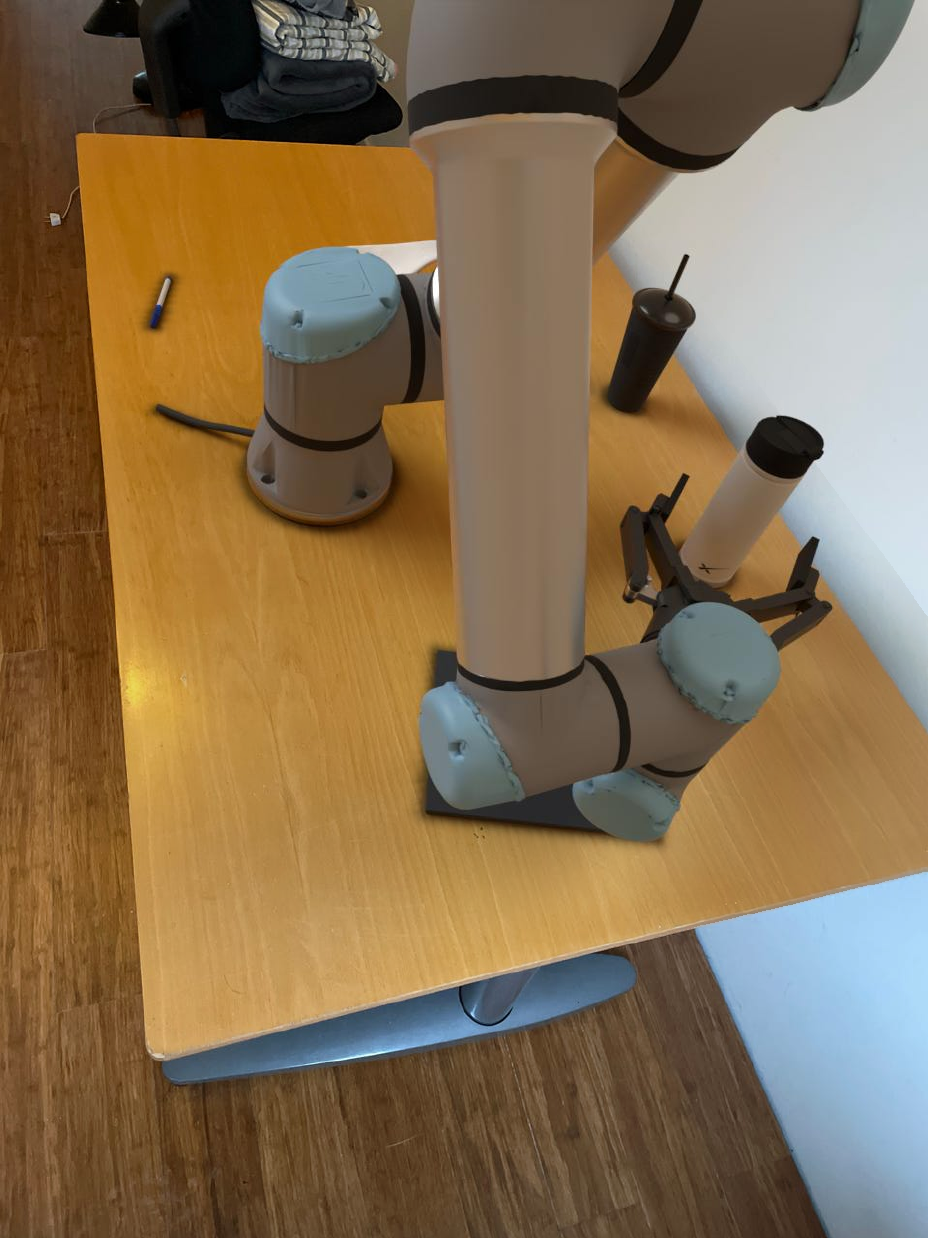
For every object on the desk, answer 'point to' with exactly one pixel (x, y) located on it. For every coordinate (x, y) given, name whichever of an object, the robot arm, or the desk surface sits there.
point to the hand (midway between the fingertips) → (744, 514)
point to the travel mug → (750, 497)
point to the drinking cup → (649, 342)
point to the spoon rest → (404, 255)
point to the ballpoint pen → (160, 303)
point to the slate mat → (533, 810)
